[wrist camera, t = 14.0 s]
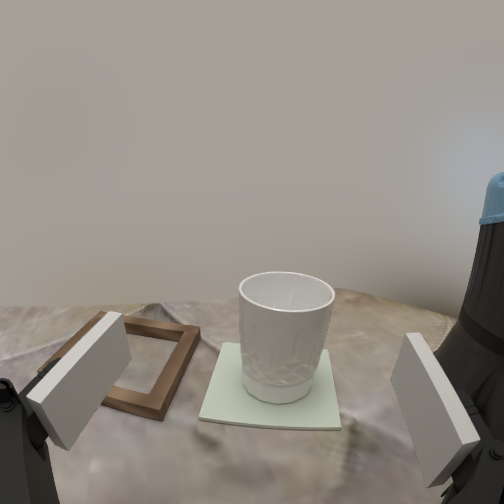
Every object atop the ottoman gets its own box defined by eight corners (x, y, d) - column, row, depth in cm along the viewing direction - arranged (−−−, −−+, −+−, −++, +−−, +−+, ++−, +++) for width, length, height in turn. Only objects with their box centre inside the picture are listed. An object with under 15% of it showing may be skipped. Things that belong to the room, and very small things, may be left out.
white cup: (298, 420, 22) (318, 321, 19) (220, 389, 26) (219, 293, 23) (327, 370, 29) (344, 282, 26) (260, 349, 33) (266, 265, 30)
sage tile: (327, 352, 33) (327, 349, 33) (340, 430, 21) (341, 427, 21) (223, 344, 34) (223, 341, 34) (198, 419, 22) (198, 416, 22)
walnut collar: (200, 337, 35) (200, 326, 35) (162, 421, 22) (159, 409, 21) (102, 321, 36) (100, 311, 36) (41, 381, 23) (37, 370, 23)
